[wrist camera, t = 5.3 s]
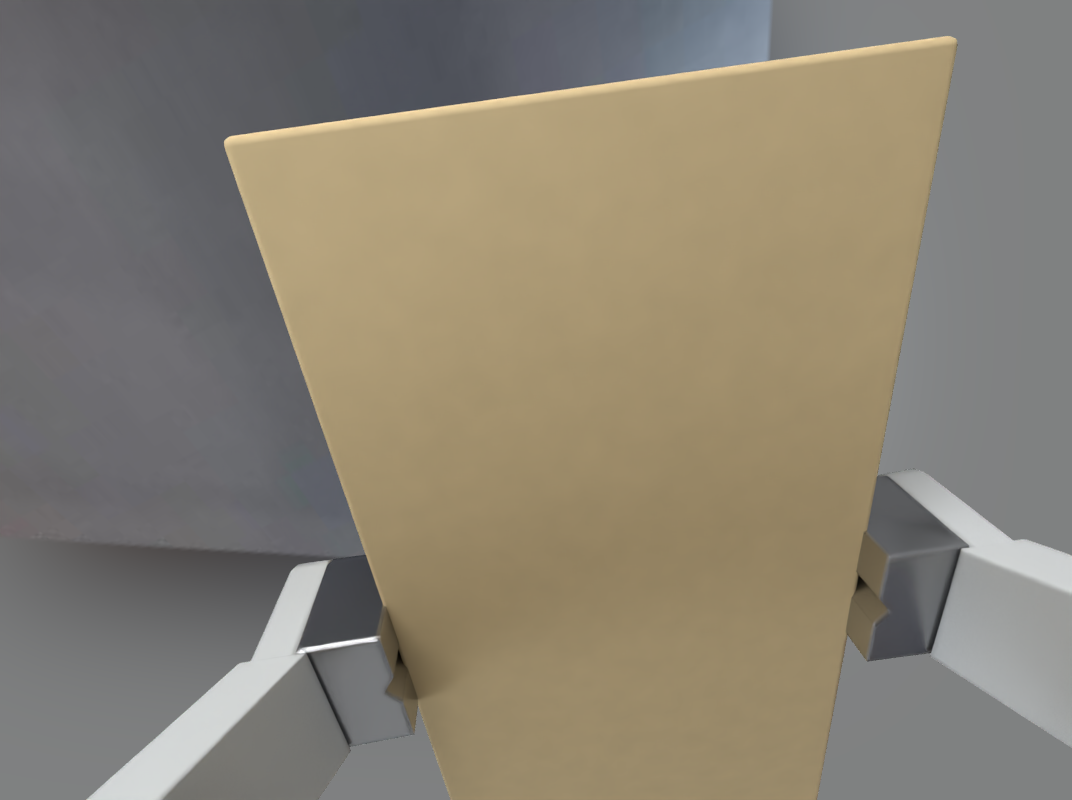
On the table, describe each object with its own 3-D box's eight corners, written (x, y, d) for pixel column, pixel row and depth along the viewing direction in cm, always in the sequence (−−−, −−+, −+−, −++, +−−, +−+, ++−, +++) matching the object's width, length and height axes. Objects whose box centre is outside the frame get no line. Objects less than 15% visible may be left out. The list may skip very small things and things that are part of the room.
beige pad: (783, 68, 7) (964, 33, 4) (742, 680, 12) (813, 831, 10) (319, 133, 7) (215, 137, 4) (480, 722, 12) (479, 886, 10)
